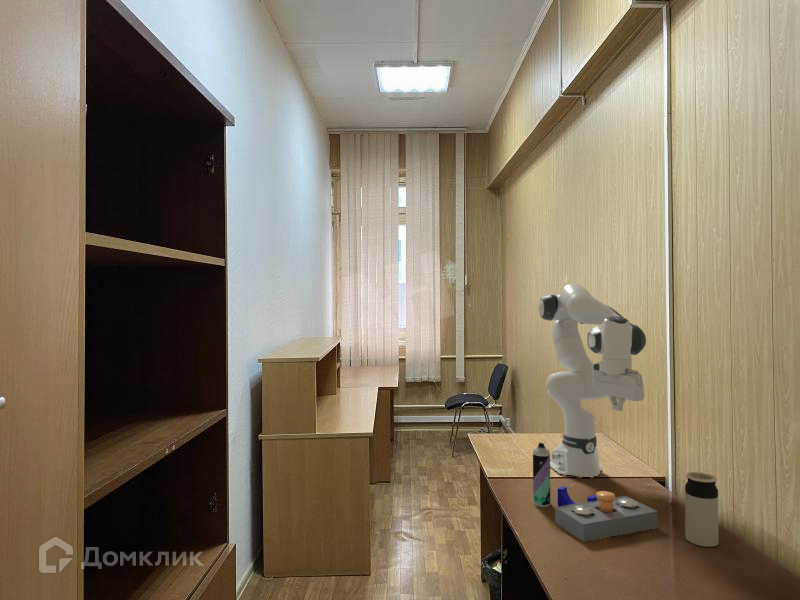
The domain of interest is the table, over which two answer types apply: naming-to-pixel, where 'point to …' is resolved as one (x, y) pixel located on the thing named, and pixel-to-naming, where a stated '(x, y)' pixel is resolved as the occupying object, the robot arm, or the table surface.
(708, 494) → the travel mug
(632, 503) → the far knob
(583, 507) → the near knob
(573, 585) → the table surface
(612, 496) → the orange knob
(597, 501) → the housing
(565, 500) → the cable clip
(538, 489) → the spray can
